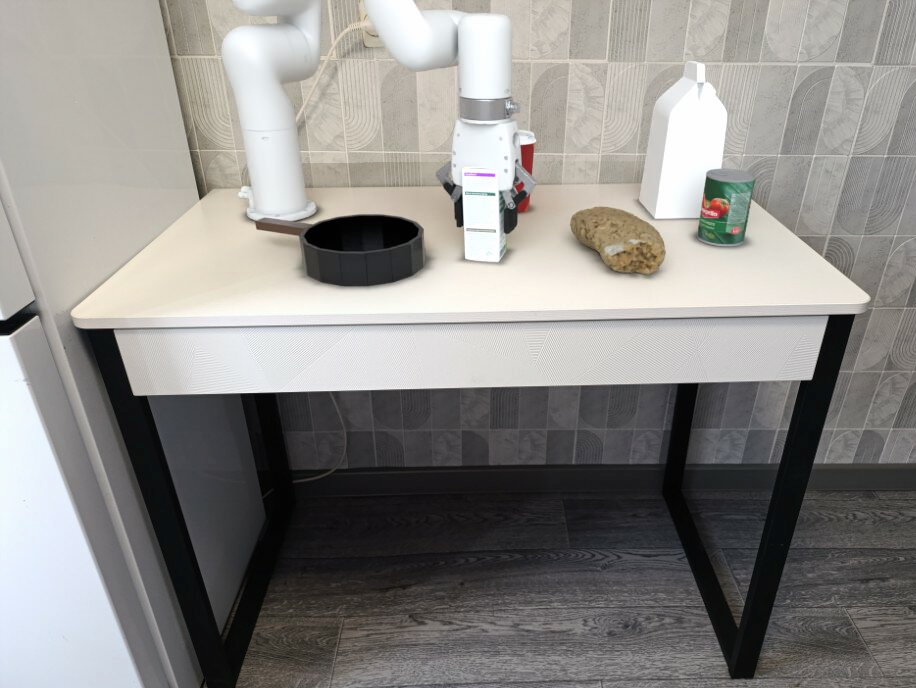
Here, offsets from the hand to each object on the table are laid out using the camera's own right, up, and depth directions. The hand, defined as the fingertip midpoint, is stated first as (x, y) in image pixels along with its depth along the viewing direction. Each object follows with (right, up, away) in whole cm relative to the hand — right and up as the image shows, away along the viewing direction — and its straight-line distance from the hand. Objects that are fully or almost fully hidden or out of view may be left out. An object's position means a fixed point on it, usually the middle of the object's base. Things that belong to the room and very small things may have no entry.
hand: (485, 227), depth 109 cm
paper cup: (+5, +9, +25) cm, 27 cm away
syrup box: (0, -4, +2) cm, 5 cm away
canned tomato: (+40, 0, +10) cm, 41 cm away
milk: (+36, +9, +25) cm, 45 cm away
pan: (-23, -5, 0) cm, 24 cm away
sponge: (+21, -4, +3) cm, 21 cm away
